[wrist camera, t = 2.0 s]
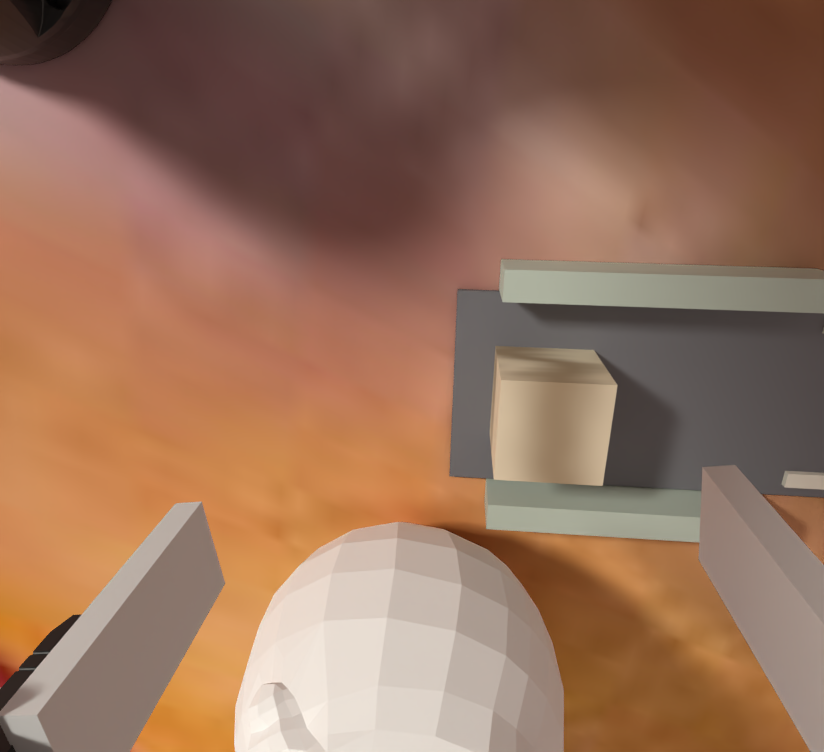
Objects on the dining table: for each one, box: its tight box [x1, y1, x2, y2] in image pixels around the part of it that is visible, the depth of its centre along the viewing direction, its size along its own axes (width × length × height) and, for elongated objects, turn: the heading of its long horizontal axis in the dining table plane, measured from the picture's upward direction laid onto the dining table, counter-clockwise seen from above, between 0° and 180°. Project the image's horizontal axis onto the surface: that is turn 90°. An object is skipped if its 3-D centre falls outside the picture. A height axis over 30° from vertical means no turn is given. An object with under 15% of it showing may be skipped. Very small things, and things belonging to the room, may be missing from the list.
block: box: [490, 346, 618, 486], centre depth 35 cm, size 6×6×6 cm
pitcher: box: [234, 522, 564, 752], centre depth 32 cm, size 19×18×25 cm
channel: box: [485, 259, 824, 542], centre depth 36 cm, size 18×17×4 cm
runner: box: [450, 289, 824, 497], centre depth 37 cm, size 30×13×1 cm, turn 89°
